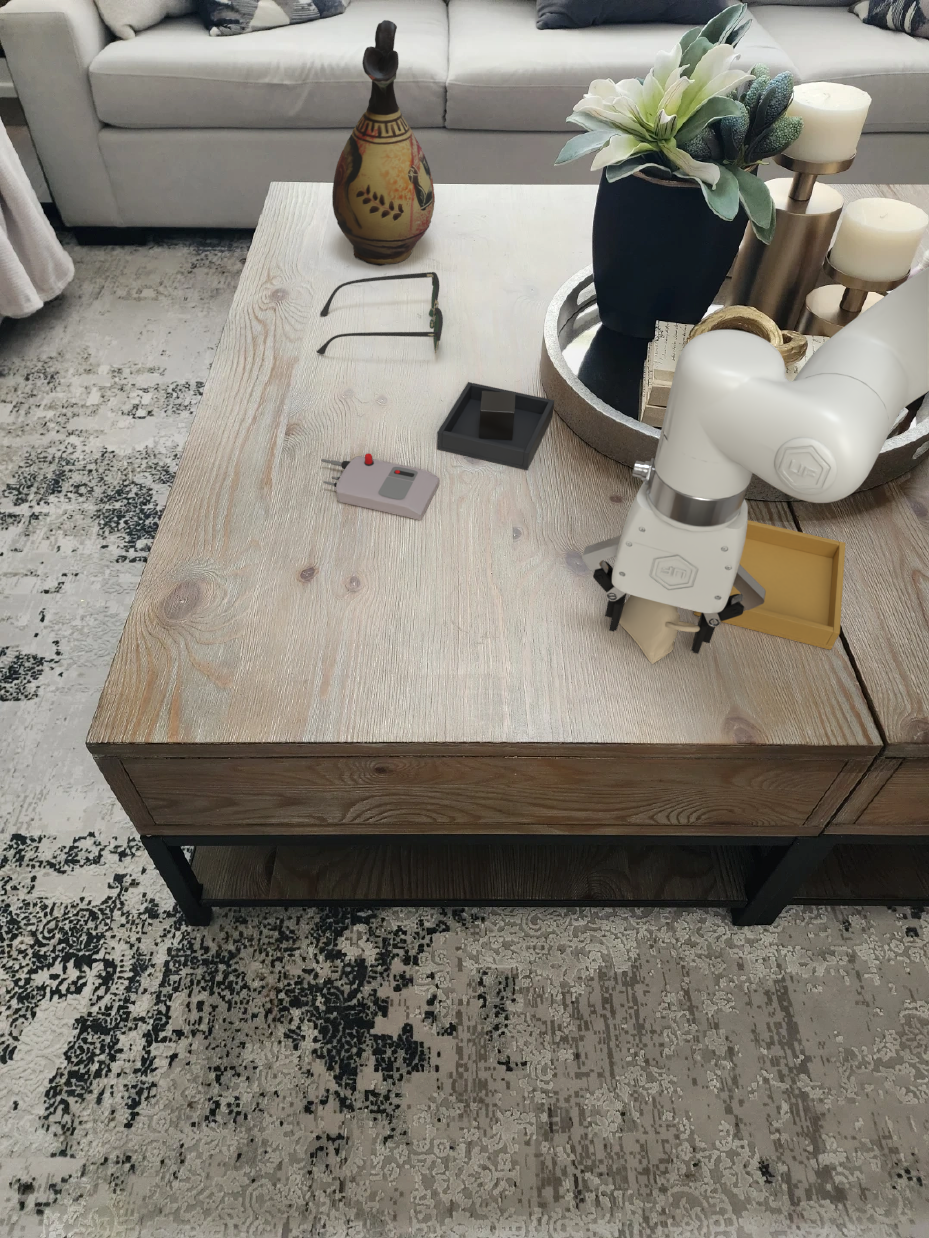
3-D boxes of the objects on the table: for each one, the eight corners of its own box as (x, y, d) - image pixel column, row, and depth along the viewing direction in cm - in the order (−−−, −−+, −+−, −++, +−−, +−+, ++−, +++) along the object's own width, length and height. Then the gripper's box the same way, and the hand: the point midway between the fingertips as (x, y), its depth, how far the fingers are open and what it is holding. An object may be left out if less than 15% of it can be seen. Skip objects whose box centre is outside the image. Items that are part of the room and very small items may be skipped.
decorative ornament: (645, 602, 85) (655, 564, 81) (694, 661, 80) (708, 624, 76) (611, 615, 84) (619, 577, 80) (659, 676, 79) (670, 639, 75)
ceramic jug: (433, 276, 129) (432, 46, 107) (331, 273, 129) (309, 43, 106) (436, 227, 140) (436, 10, 118) (343, 224, 140) (325, 6, 118)
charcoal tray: (552, 417, 105) (554, 400, 104) (527, 470, 98) (529, 453, 97) (467, 398, 108) (468, 381, 106) (437, 449, 101) (437, 432, 99)
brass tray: (837, 559, 90) (845, 542, 88) (830, 650, 81) (840, 633, 79) (712, 530, 92) (717, 512, 90) (693, 614, 84) (699, 597, 82)
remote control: (436, 524, 92) (436, 503, 90) (303, 495, 95) (300, 473, 92) (455, 487, 96) (455, 466, 94) (327, 459, 99) (324, 438, 97)
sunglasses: (321, 305, 123) (317, 271, 119) (438, 303, 124) (438, 270, 120) (315, 368, 112) (311, 333, 108) (443, 365, 113) (444, 331, 109)
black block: (513, 420, 104) (515, 392, 101) (512, 440, 101) (514, 412, 98) (480, 418, 104) (482, 390, 101) (479, 438, 101) (480, 410, 98)
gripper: (579, 491, 67) (557, 636, 80) (805, 543, 64) (743, 685, 77) (601, 437, 72) (576, 583, 85) (811, 483, 68) (752, 627, 82)
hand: (656, 630), depth 81 cm, fingers closed on decorative ornament, 7 cm apart
